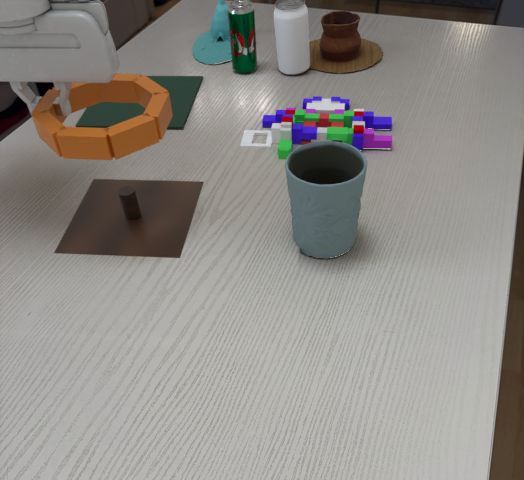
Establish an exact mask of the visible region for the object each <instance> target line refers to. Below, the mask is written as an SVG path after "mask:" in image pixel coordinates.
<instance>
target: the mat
mask: <svg viewBox="0 0 524 480" xmlns="http://www.w3.org/2000/svg"><path fill="white" fill-rule="evenodd" d="M146 76H147V77H148V78H150V79H151V80H153V81H154V82H156V83H157V84H159V85H160V86H162V87H163V88H165V89H166V90H168V92H169V95H170V102H171V108H172V114H173V116H172V118H171V121H170V123H169V125H168V127H167V130H184V128H185V125H186V122H187V120H188V118H189V115H190V113H191V111H192V107H193V106H194V102H195V100H196V98H197V95H198V93H199V90H200V87H201V85H202V83H203V80H204V76H203V75H146ZM145 109H146V108H144V107H143V106H142V105H140V104H139V103H120V102H101V103H98V104H95V105H93V106H90V107H87V108H85V110H84V111H83V113H82V114H81V115H80V117H79V119H78V121H77V122H76V123H75V125H74V127H88V128H108V127H111V126H113V125H116V124H118V123H121V122H124V121H126V120H129V119H131V118H134V117H137V116H139V115H142V114H143V113H144V111H145Z"/></svg>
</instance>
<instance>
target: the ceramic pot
mask: <svg viewBox="0 0 524 480" xmlns="http://www.w3.org/2000/svg"><path fill="white" fill-rule="evenodd" d="M360 21H361V17H360V15H359V14H358V13H356V12H355V13H354V12H351V11H346V10H333V11H330V12H328V13H326V14H324V15H322V16H321V19H320V24H321V28H322V33H321V37H320V38H318V39H313V40H310V41H309V46H310V67H309V68H308V69H311V70H317V71H320V72H326V73H335V74H338V75H340V74H343V73H344V74H347V73H353V72H358V71H363V70H366V69H368V68H369V67H374V65H375V64H376V63H378V62H380V61H381V59H382V58H383V54H384V51H383V49H382V47H381V46H380V45H379V44H378V42H377V43H376V42H375V41H372V40H368V39H366V38H361V34H360V32H359V30H358V29H359V25H360Z"/></svg>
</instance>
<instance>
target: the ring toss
mask: <svg viewBox="0 0 524 480" xmlns="http://www.w3.org/2000/svg"><path fill="white" fill-rule="evenodd" d="M204 182H205V181H197V180H156V179H155V180H153V179H150V180H149V179H115V178H114V179H109V178H107V179H106V178H93V179H92V181H91V183H90V185H89V187H88V189H86V192H85V193H84V196H83V198H82V199H81V201H80V204H79V205H78V207H77V209H76V211H75V212H74V214H73V216H72V218H71V220H70V222H69V224H68V226H67V227H66V229H65V231H64V233H63V236H62V237H61V239H60V241H59V242H58V245H57V246H56V247H55V249H54V254H62V255H63V254H64V255H65V254H66V255H89V256H92V255H93V256H116V257H117V256H118V257H141V258H164V259H165V258H166V259H167V258H168V259H180V258H181V256H182V253H183V250H184V247H185V243H186V240H187V237H188V233H189V230H190V227H191V223H192V221H193V218H194V214H195V211H196V208H197V204H198V202H199V199H200V196H201V192H202V190H203V185H204Z"/></svg>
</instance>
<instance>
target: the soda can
mask: <svg viewBox="0 0 524 480" xmlns="http://www.w3.org/2000/svg"><path fill="white" fill-rule="evenodd" d="M228 7H229V8H228V21H229V33H230V44H231V56H232V61H231V65H232V70H233V71H234V72H235V73H236V74H240V75H246V74H247V75H248V74H251V73H253V72H255V71H256V69H257V68H258V53H257V36H256V17H255V7H254V6H253V2H252V1H251V0H232V1H229V3H228Z"/></svg>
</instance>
